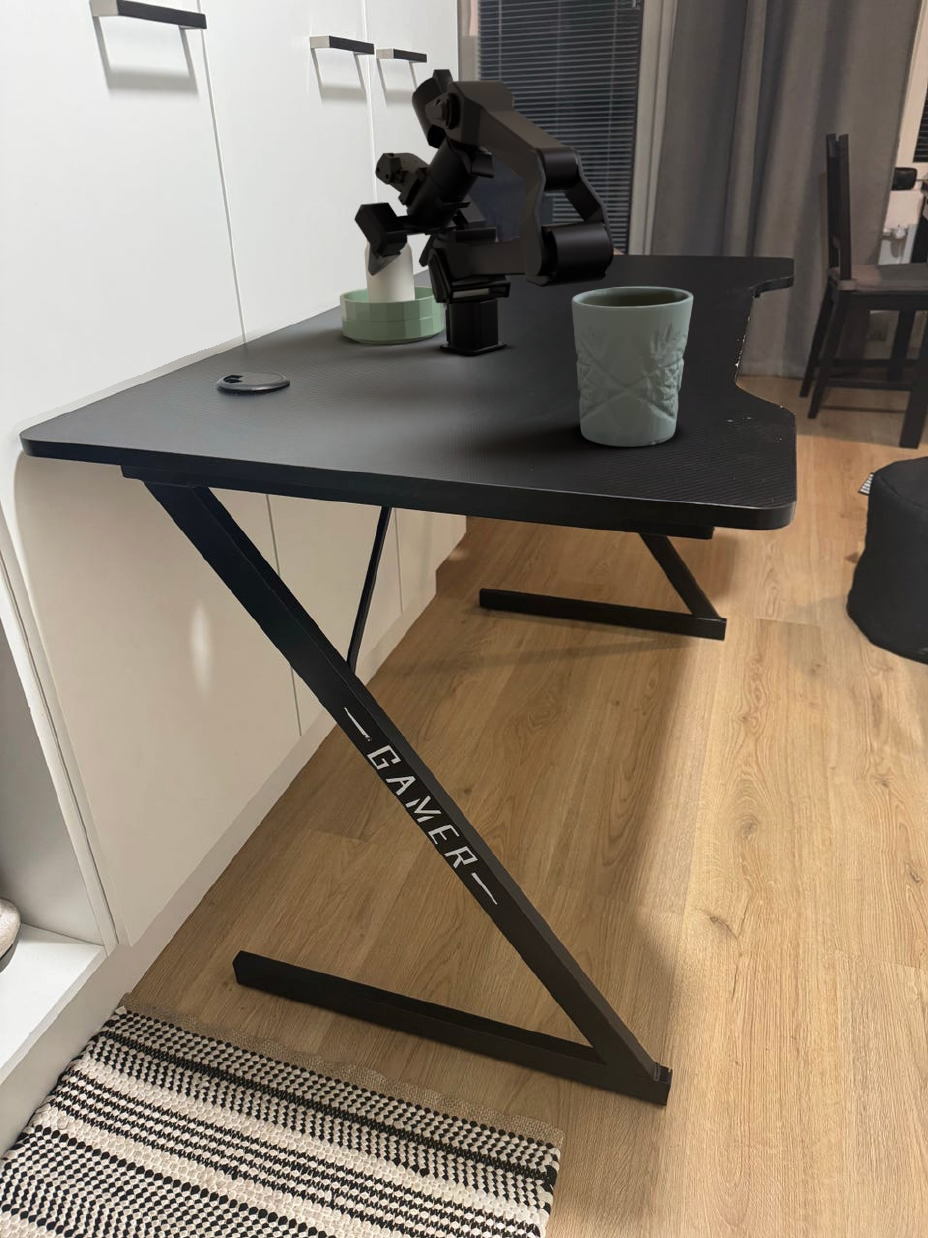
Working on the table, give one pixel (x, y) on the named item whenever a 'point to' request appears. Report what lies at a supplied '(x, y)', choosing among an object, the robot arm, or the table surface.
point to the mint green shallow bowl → (391, 317)
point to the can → (392, 278)
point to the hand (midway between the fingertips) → (396, 268)
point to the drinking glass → (630, 362)
